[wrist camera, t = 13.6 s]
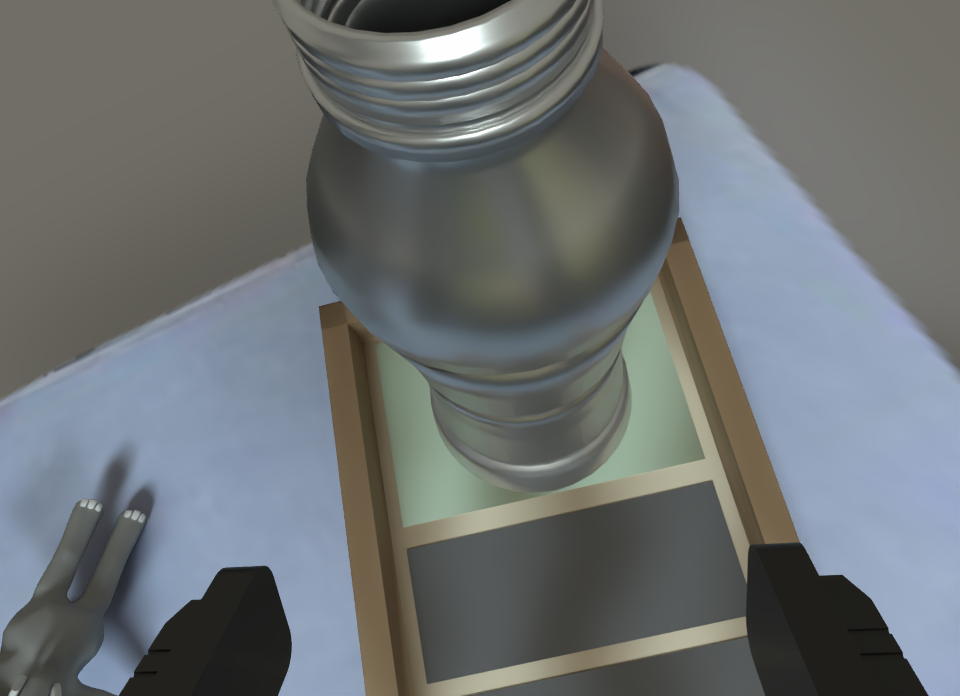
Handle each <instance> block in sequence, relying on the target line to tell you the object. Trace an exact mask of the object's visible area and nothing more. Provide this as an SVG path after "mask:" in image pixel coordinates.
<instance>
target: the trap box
mask: <svg viewBox="0 0 960 696" xmlns="http://www.w3.org/2000/svg"><path fill="white" fill-rule="evenodd" d="M319 312H320V320H321V328H322V337H323V345H324V353H325V361H326V370H327V378H328V386H329V394H330V403H331V411H332V419H333V427H334V436H335V444H336V452H337V460H338V469H339V477H340V485H341V493H342V502H343V510H344V518H345V526H346V535H347V543H348V551H349V559H350V568H351V576H352V584H353V592H354V601H355V609H356V617H357V625H358V634H359V642H360V650H361V658H362V667H363V675H364V683H365V691H366V696H765V694H764V691H763V688H762V685H761V682H760V679H759V676H758V673H757V670H756V667H755V664H754V662H753V658H752V655H751V651H750V647H749V641H748V635H747V627H746V600H747V567H748V550H749V546H750V545H752V544H773V543H794V542H799V539H798V536H797V533H796V531H795V528H794V525H793V522H792V520H791V517H790V514H789V512H788V509H787V506H786V503H785V501H784V498H783V495H782V492H781V490H780V487H779V484H778V481H777V479H776V476H775V473H774V471H773V468H772V465H771V462H770V460H769V457H768V454H767V451H766V449H765V446H764V443H763V440H762V438H761V435H760V432H759V430H758V427H757V424H756V421H755V419H754V416H753V413H752V410H751V408H750V405H749V402H748V399H747V397H746V394H745V391H744V389H743V386H742V383H741V380H740V378H739V375H738V372H737V369H736V367H735V364H734V361H733V359H732V356H731V353H730V350H729V348H728V345H727V342H726V339H725V337H724V334H723V331H722V328H721V326H720V323H719V320H718V318H717V315H716V312H715V309H714V307H713V304H712V301H711V298H710V296H709V293H708V290H707V287H706V285H705V282H704V279H703V277H702V274H701V271H700V268H699V266H698V263H697V260H696V257H695V255H694V252H693V249H692V246H691V244H690V241H689V238H688V236H687V233H686V230H685V227H684V225H683V222H682V219H681V217H680V218H677V222H676V227H675V231H674V235H673V240H672V244H671V246H670V248H669V250H668V252H667V255H666V258H665V260H664V263H663V266H662V268H661V270H660V272H659V274H658V276H657V278H656V280H655V282H654V284H653V286H652V288H651V290H650V292H649V294H648V295H647V296H646V298H645V299H644V301H643V303H642V305H641V306H640V308H639V310H638V311H637V313H636V315H635V316H634V318H633V320H632V321H631V323H630V325H629V326H628V328H627V330H626V334H625V337H624V340H623V344H622V355H623V357H624V360H625V362H626V366H627V371H628V376H629V381H630V386H631V391H632V405H631V415H630V419H629V423H628V427H627V430H626V432H625V434H624V436H623V439H622V441H621V443H620V445H619V447H618V448H617V449H616V450H615V452H614V453H613V454H612V456H611V457H610V458H609V459H608V461H607V462H606V463H605V464H603V465H602V466H601V467H600V468H599V469H597V470H596V471H595V472H594V473H593V474H591V475H590V476H588V477H586V478H584V479H582V480H581V481H579V482H577V483H575V484H573V485H571V486H568V487H565V488H562V489H558V490H555V491H549V492H540V493H530V492H517V491H511V490H508V489H504V488H500V487H497V486H493V485H491V484H489V483H487V482H485V481H483V480H481V479H479V478H477V477H476V476H474V475H473V474H472V473H470V472H469V471H468V470H466V469H465V468H464V467H463V466H461V465H460V464H459V463H458V461H457V460H456V459H455V458H454V457H453V456H452V455H451V453H450V452H449V451H448V449H447V448H446V446H445V444H444V442H443V440H442V439H441V437H440V435H439V432H438V429H437V426H436V423H435V419H434V416H433V411H432V407H431V398H430V387H429V384H428V382H427V381H426V379H425V378H424V377H423V375H422V374H421V373H420V372H419V371H418V370H417V368H416V367H415V366H413V365H412V364H411V363H410V362H408V361H407V360H406V359H404V358H403V357H402V356H400V355H399V354H398V353H397V352H395V351H394V350H393V349H391V348H390V347H389V346H387V345H386V344H385V343H384V342H382V341H381V340H379V339H378V338H377V337H375V336H374V335H373V334H371V333H370V332H369V331H368V330H367V329H366V327H365V326H364V325H363V324H362V323H361V322H360V321H359V320H358V319H357V318H356V317H355V316H354V315H353V314H352V313H351V312H350V310H349V309H348V308H347V307H346V306H345V305H344V304H343V303H342V301H339V302H335V303H331V304H327V305H323V306H319ZM799 543H800V542H799Z"/></svg>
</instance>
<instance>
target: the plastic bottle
mask: <svg viewBox="0 0 960 696" xmlns="http://www.w3.org/2000/svg"><path fill="white" fill-rule="evenodd" d="M272 2H273V4H274V6H275V8H276V9H277V11H278V13H279V15H280V17H281V19H282V21H283V23H284V25H285V27H286V29H287V30H288V32H289V34H290V36H291V38H292V40H293V42H294V44H295V46H296V56H297V59H298V63H299V67H300V70H301V74H302V76H303V79H304V80H305V82H306V84H307V86H308V88H309V90H310V92H311V93H312V95H313V97H314V99H315V101H316V102H317V104H318V105H319V107H320V109H321V111H322V112H323V114H324V115H323V117H322V120H321V123H320V126H319V129H318V133H317V136H316V139H315V143H314V145H313V149H312V153H311V158H310V163H309V168H308V172H307V177H306V186H307V188H306V189H307V211H308V218H309V225H310V233H311V239H312V242H313V246H314V250H315V254H316V257H317V261H318V265H319V267H320V269H321V270H322V272H323V274H324V276H325V278H326V280H327V282H328V283H329V285H330V287H331V289H332V291H333V292H334V294H335V295H336V296H337V297H338V298H339V299H340V300H341V301H342V303H343V304H344V305H345V306H346V307H347V308H348V309H349V310H350V312H351V313H352V314H353V315H354V316H355V317H356V318H357V319H358V320H359V321H360V322H361V323H362V324H363V325H364V326H365V327H366V329H367V330H368V331H369V332H370V333H371V334H373V335H374V336H375V337H377V338H378V339H379V340H381V341H382V342H384V343H385V344H386V345H387V346H389V347H390V348H391V349H393V350H394V351H395V352H397V353H398V354H399V355H400V356H402V357H403V358H404V359H406V360H407V361H408V362H410V363H411V364H412V365H413V366H415V367H416V368H417V370H418V371H419V372H420V373H421V374H422V375H423V377H424V378H425V379H426V381H427V382H428V384H429V387H430V398H431V407H432V411H433V416H434V419H435V423H436V426H437V429H438V432H439V435H440V437H441V439H442V440H443V442H444V444H445V446H446V448H447V449H448V451H449V452H450V453H451V455H452V456H453V457H454V458H455V459H456V460H457V461H458V463H459V464H460V465H461V466H463V467H464V468H465V469H466V470H468V471H469V472H470V473H472V474H473V475H474V476H476V477H477V478H479V479H481V480H483V481H485V482H487V483H489V484H491V485H493V486H497V487H500V488H504V489H508V490H511V491H517V492H530V493H540V492H549V491H555V490H558V489H562V488H565V487H568V486H571V485H573V484H575V483H577V482H579V481H581V480H582V479H584V478H586V477H588V476H590V475H591V474H593V473H594V472H595V471H596V470H597V469H599V468H600V467H601V466H602V465H603V464H605V463H606V462H607V461H608V459H609V458H610V457H611V456H612V454H613V453H614V452H615V450H616V449H617V448H618V447H619V445H620V443H621V441H622V439H623V436H624V434H625V432H626V430H627V427H628V423H629V419H630V415H631V405H632V391H631V386H630V381H629V376H628V371H627V366H626V362H625V360H624V357H623V355H622V344H623V340H624V337H625V334H626V330H627V328H628V326H629V325H630V323H631V321H632V320H633V318H634V316H635V315H636V313H637V311H638V310H639V308H640V306H641V305H642V303H643V301H644V299H645V298H646V296H647V295H648V294H649V292H650V290H651V288H652V286H653V284H654V282H655V280H656V278H657V276H658V274H659V272H660V270H661V268H662V266H663V263H664V260H665V258H666V255H667V252H668V250H669V248H670V246H671V244H672V240H673V235H674V231H675V227H676V222H677V218H678V213H679V179H678V175H677V171H676V167H675V164H674V160H673V156H672V152H671V148H670V145H669V142H668V138H667V135H666V131H665V128H664V124H663V121H662V119H661V117H660V115H659V113H658V111H657V109H656V108H655V106H654V104H653V102H652V100H651V98H650V97H649V95H648V93H647V92H646V91H645V90H644V89H643V88H642V87H641V86H640V84H639V83H638V82H637V81H636V80H635V79H634V78H633V77H632V75H631V74H630V73H629V72H628V71H627V70H626V69H625V68H624V67H623V66H622V65H621V64H620V63H619V62H618V61H617V60H616V59H614V57H613V56H611V55H610V54H609V53H608V52H607V51H606V50H605V49H604V48H603V0H272Z"/></svg>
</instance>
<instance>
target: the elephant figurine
mask: <svg viewBox="0 0 960 696" xmlns="http://www.w3.org/2000/svg"><path fill="white" fill-rule="evenodd" d="M140 513H141V512H140V511H137V510H134V511H133V512H132V510H127V511H124V512H123V513H121V514H120V515H119V517H118V520H117V522H116V525H115V527H114V530H113V532H112V535H111V537H110V539H109V541H108V543H107V545H106V547H105V549H104V551H103V553H102V556H101V558H100V560H99V562H98V564H97V566H96V569H95V571H94V573H93V575H92V577H91V579H90V580H89V582H88V584H87V586H86V588H85V590H84V592H83V594H82V596H81V597H80V598H79V599H78V600H77V601H75V602H71V601H70V600H69V599H68V598H67V591H68V589H69V587H70V585H71V583H72V580H73V577H74V575H75V572H76V570H77V567H78V565H79V563H80V561H81V558H82V556H83V554H84V552H85V550H86V547H87V545H88V543H89V540H90V538H91V536H92V534H93V531H94V529H95V527H96V525H97V523H98V521H99V519H100V517H101V516H102V514H103V506H102V504H100V503H98V504H97V501H96V500H93V499H91V500H90V501H89V499H82V500H81V501H79V502H77V503H76V505H75V507H74V509H73V511H72V514H71V516H70V518H69V521H68V523H67V526H66V529H65V532H64V534H63V537H62V539H61V542H60V544H59V546H58V548H57V550H56V552H55V554H54V556H53V558H52V560H51V562H50V563H49V565H48V567H47V569H46V570H45V572H44V574H43V576H42V577H41V579H40V581H39V583H38V585H37V587H36V589H35V591H34V594H33V597H32V599H31V600H30V602H29V603H28V604H27V605H25V606H24V607H23V608H22V609H21V610H20V611H19V612H17V613H16V614H15V616H14V617H13V618H12V619H11V621H10V622H9V624H8V625H7V627H6V628H5V630H4V632H3V639H2V646H1V652H0V696H117V695H114V694H112V693H109V692H107V691H104V690H100V689H96V688H92V687H89V686H87V685H84V684H82V683H81V682H80V680H79V679H78V674H79V673H80V671H81V670H82V669H83V668H84V666H85V665H86V664H87V663H88V662H89V661H90V660H91V659H92V658H93V657H94V656H95V655H96V654H97V652H98V650H99V648H100V646H101V645H102V642H103V638H104V624H103V618H104V615H105V612H106V610H107V609H108V607H109V605H110V603H111V601H112V598H113V596H114V593H115V590H116V587H117V584H118V582H119V579H120V576H121V574H122V571H123V569H124V566H125V564H126V561H127V559H128V557H129V554H130V553H131V551H132V549H133V547H134V545H135V543H136V541H137V539H138V538H139V536H140V534H141V532H142V530H143V528H144V525H145V523H146V515H144V514H143V513H142V514H141V515H140Z"/></svg>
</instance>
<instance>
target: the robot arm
mask: <svg viewBox="0 0 960 696" xmlns="http://www.w3.org/2000/svg"><path fill="white" fill-rule="evenodd" d="M746 627H747V635H748V641H749V647H750V651H751V655H752V658H753V662H754V664H755V667H756V670H757V673H758V676H759V679H760V682H761V685H762V688H763V691H764V694H765V696H928V694H927V693H926V691H925V689H924V687H923V686H922V684H921V682H920V681H919V679H918V677H917V676H916V674H915V672H914V671H913V669H912V667H911V666H910V664H909V662H908V660H907V659H904V657H903V652H902V650H901V649H900V647H899V645H898V644H897V642H896V640H895V639H894V637H893V635H892V634H889V631H888V627H887V625H886V623H885V622H884V620H883V618H882V617H881V615H880V613H879V612H878V610H877V608H876V606H875V605H874V603H873V601H872V600H871V599H870V598H869V597H868V596H867V595H866V594H864V593H863V592H862V591H861V590H860V589H858V588H857V587H856V586H855V585H854V584H852V583H851V582H850V581H849V580H848V579H846V578H845V577H844V576H843V575H826V576H819V575H818V573H817V571H816V569H815V567H814V565H813V563H812V561H811V559H810V557H809V555H808V554H807V552H806V550H805V548H804V546H803V545H802V544H801V543H799V542H794V543H773V544H752V545H750V546H749V550H748V567H747V600H746ZM291 649H292V642H291V633H290V629H289V626H288V622H287V619H286V616H285V613H284V609H283V606H282V603H281V599H280V596H279V593H278V590H277V586H276V583H275V580H274V576H273V574H272V572H271V570H270V569H269V567H267V566H251V567H229V568H223V569H221V570H220V571H219V572H218V573H217V575H216V576H215V578H214V579H213V581H212V583H211V584H210V586H209V588H208V589H207V591H206V593H205V594H204V596H203V598H202V599H201V600H191V601H190V602H189V603H188V604H186V605H185V606H184V607H183V608H182V609H181V610H180V611H179V612H177V613H176V614H175V615H174V616H173V617H172V618H171V619H170V620H169V621H167V622H166V623H165V625H164V626H163V628H162V629H161V631H160V632H159V634H158V635H157V637H156V639H155V640H154V642H153V643H152V645H151V646H150V648H149V649H148V655H145V656H144V657H143V659H142V660H141V662H140V663H139V665H138V667H137V668H136V670H135V671H134V677H133V678H130V679H129V681H128V682H127V684H126V685H125V687H124V688H123V690H122V691H121V693H120V694H119V696H278V694H279V691H280V689H281V686H282V684H283V681H284V679H285V676H286V674H287V671H288V668H289V664H290V659H291Z"/></svg>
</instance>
